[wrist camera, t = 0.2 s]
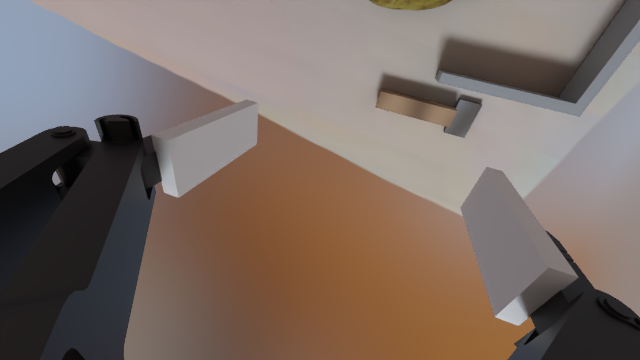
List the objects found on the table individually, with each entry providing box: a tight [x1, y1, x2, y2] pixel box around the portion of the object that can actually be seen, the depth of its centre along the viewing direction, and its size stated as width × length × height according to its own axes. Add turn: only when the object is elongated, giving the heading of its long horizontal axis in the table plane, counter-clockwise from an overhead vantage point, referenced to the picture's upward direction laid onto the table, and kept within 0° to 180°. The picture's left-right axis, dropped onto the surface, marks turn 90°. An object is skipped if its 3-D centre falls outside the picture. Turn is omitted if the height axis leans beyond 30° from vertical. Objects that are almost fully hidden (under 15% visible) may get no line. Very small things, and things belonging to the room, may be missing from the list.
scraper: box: [376, 89, 482, 138], centre depth 36 cm, size 14×5×2 cm, turn 79°
